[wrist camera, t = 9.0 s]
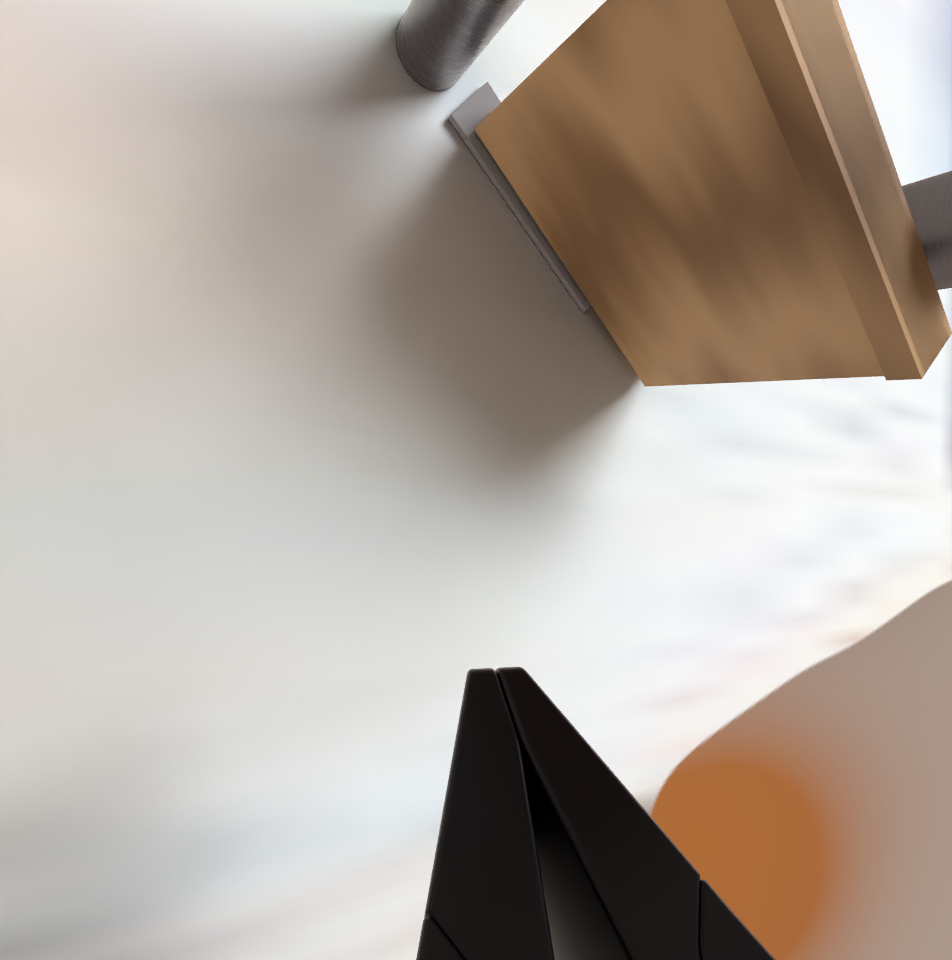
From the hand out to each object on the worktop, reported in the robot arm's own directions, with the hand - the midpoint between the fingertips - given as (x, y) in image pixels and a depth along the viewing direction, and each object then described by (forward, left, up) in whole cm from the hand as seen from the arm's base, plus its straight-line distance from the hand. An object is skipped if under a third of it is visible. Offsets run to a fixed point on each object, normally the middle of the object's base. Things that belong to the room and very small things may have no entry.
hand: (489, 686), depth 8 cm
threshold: (+9, -9, -9) cm, 15 cm away
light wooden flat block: (+7, -10, -8) cm, 14 cm away
